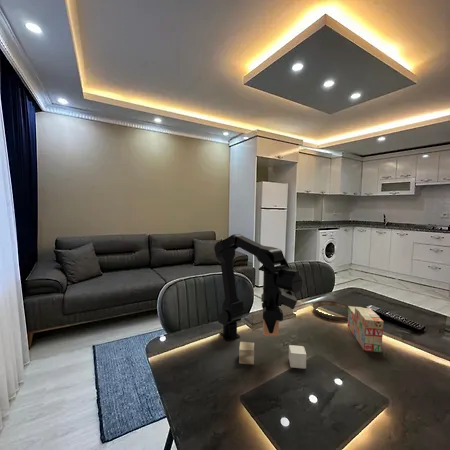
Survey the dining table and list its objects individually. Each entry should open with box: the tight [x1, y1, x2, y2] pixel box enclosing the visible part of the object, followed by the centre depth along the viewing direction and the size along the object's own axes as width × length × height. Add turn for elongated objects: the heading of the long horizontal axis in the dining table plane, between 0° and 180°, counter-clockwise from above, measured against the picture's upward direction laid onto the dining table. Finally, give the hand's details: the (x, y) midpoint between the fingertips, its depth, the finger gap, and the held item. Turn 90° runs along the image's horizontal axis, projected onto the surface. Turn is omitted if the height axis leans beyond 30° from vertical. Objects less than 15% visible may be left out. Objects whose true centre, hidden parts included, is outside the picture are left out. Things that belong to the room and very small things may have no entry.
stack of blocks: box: [347, 305, 384, 353], centre depth 104 cm, size 21×6×12 cm, turn 170°
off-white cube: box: [288, 344, 307, 369], centre depth 86 cm, size 5×5×5 cm
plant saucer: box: [312, 300, 350, 321], centre depth 129 cm, size 21×21×3 cm
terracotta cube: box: [262, 318, 280, 337], centre depth 87 cm, size 5×5×5 cm
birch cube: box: [238, 341, 255, 366], centre depth 88 cm, size 5×5×5 cm
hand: (270, 329), depth 87 cm, fingers closed on terracotta cube, 5 cm apart
